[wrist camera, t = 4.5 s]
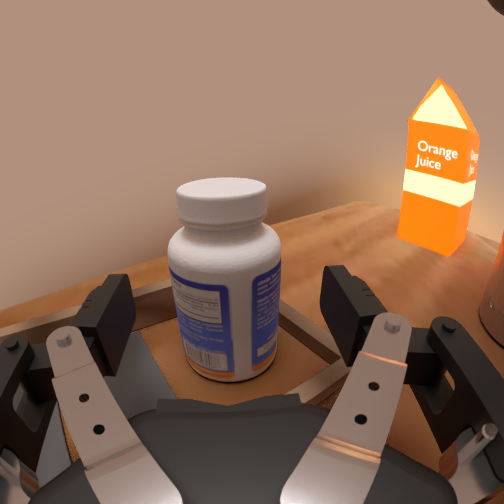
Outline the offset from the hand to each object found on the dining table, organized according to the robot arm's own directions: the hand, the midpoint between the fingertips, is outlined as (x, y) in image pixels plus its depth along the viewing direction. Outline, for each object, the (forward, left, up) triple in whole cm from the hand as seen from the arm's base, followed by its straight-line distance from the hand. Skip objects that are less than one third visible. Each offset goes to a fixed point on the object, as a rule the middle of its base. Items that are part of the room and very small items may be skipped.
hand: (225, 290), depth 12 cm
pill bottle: (0, -3, -6) cm, 7 cm away
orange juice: (-26, -19, -6) cm, 33 cm away
